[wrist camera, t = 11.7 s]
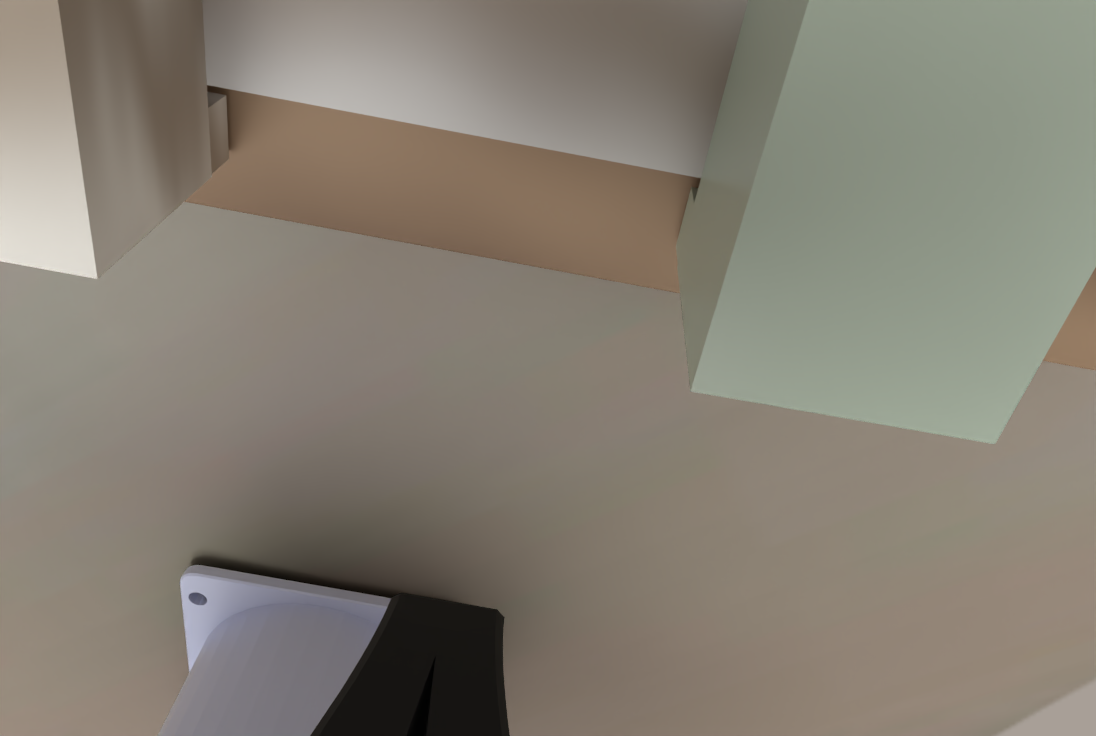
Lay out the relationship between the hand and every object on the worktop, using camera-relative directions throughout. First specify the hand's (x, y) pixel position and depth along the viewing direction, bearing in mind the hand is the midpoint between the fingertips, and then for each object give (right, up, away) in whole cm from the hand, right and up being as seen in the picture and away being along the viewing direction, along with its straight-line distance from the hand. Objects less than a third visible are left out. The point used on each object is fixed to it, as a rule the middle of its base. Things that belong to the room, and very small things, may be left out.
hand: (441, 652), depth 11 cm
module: (+7, +8, +4) cm, 11 cm away
